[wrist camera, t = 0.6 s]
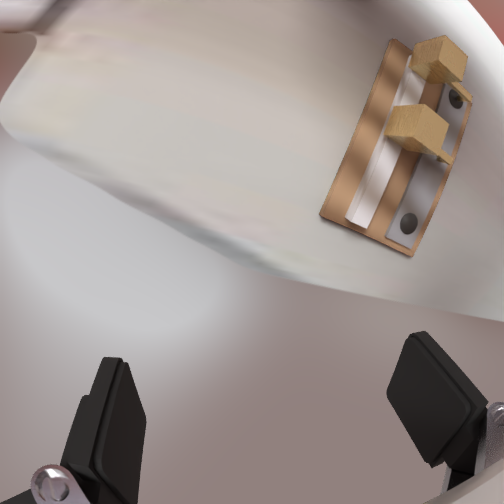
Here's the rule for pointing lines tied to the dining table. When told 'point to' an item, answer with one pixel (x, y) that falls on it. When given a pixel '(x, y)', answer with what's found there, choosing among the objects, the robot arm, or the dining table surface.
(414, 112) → the block
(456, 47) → the fixed leg
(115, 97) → the dining table surface
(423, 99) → the board
